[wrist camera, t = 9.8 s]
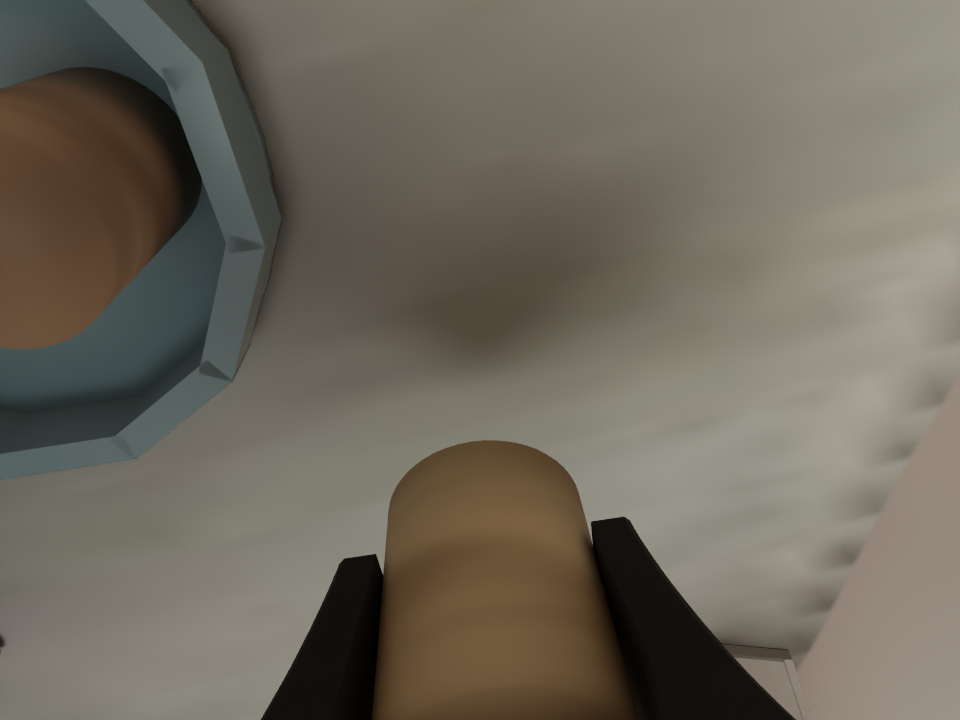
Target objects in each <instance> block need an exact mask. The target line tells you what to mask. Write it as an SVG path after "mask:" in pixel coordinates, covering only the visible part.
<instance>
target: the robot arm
mask: <svg viewBox="0 0 960 720" xmlns="http://www.w3.org/2000/svg"><path fill="white" fill-rule="evenodd" d="M591 527H592V540H593V549H594V553H595V556H596V560H597V564H598V568H599V571H600V575H601V579H602V582H603V586H604V590H605V593H606V597H607V600H608V604H609V608H610V611H611V615H612V619H613V622H614V626H615V630H616V634H617V637H618V641H619V645H620V648H621V652H622V656H623V660H624V663H625V667H626V671H627V674H628V678H629V682H630V686H631V689H632V693H633V697H634V700H635V704H636V708H637V712H638V715H639V719H640V720H796V719H795V718H794V717H793V716H792V715H791V714H790V713H788V712H787V711H786V710H785V709H784V708H783V707H782V706H781V705H780V704H779V703H778V702H777V701H776V700H775V699H774V698H773V697H772V696H771V695H770V694H769V693H768V692H767V691H766V690H765V689H764V688H763V687H762V686H761V685H760V684H759V683H758V682H757V681H756V680H755V679H754V678H753V677H752V676H751V675H750V674H749V673H748V672H747V671H746V670H745V669H744V668H743V667H742V666H741V664H740V663H739V662H738V661H737V660H736V659H735V658H734V657H733V656H732V655H731V654H730V653H729V651H728V650H727V649H726V648H725V647H724V646H723V645H722V644H721V642H720V641H719V640H718V639H717V638H716V637H715V636H714V635H713V634H712V632H711V631H710V630H709V629H708V628H707V626H706V625H705V624H704V623H703V622H702V621H701V619H700V618H699V617H698V616H697V615H696V613H695V612H694V611H693V610H692V608H691V607H690V606H689V605H688V603H687V602H686V601H685V600H684V598H683V597H682V596H681V595H680V593H679V592H678V591H677V590H676V588H675V587H674V586H673V584H672V583H671V582H670V580H669V579H668V578H667V576H666V575H665V574H664V572H663V571H662V569H661V568H660V567H659V565H658V564H657V562H656V561H655V560H654V558H653V557H652V555H651V554H650V552H649V551H648V549H647V548H646V546H645V545H644V543H643V542H642V540H641V539H640V537H639V535H638V534H637V532H636V531H635V529H634V527H633V525H632V524H631V522H630V520H628V519H627V518H625V517H619V518H612V519H606V520H599V521H592V522H591ZM382 586H383V574H382V571H381V568H380V565H379V562H378V559H377V556H376V554H373V555H366V556H360V557H353V558H346V559H343V561H342V562H341V563H340V564H339V566H338V569H337V571H336V574H335V576H334V578H333V581H332V583H331V585H330V588H329V590H328V592H327V594H326V597H325V599H324V601H323V603H322V605H321V607H320V610H319V612H318V614H317V616H316V618H315V620H314V622H313V624H312V626H311V628H310V630H309V632H308V634H307V636H306V638H305V640H304V642H303V644H302V646H301V648H300V650H299V652H298V654H297V656H296V658H295V660H294V662H293V664H292V666H291V667H290V669H289V671H288V673H287V675H286V677H285V679H284V680H283V682H282V684H281V686H280V687H279V689H278V691H277V692H276V694H275V696H274V698H273V699H272V701H271V703H270V705H269V706H268V708H267V710H266V712H265V713H264V715H263V717H262V719H261V720H372V709H373V697H374V685H375V672H376V660H377V648H378V635H379V623H380V611H381V599H382ZM0 653H1V648H0Z"/></svg>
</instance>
